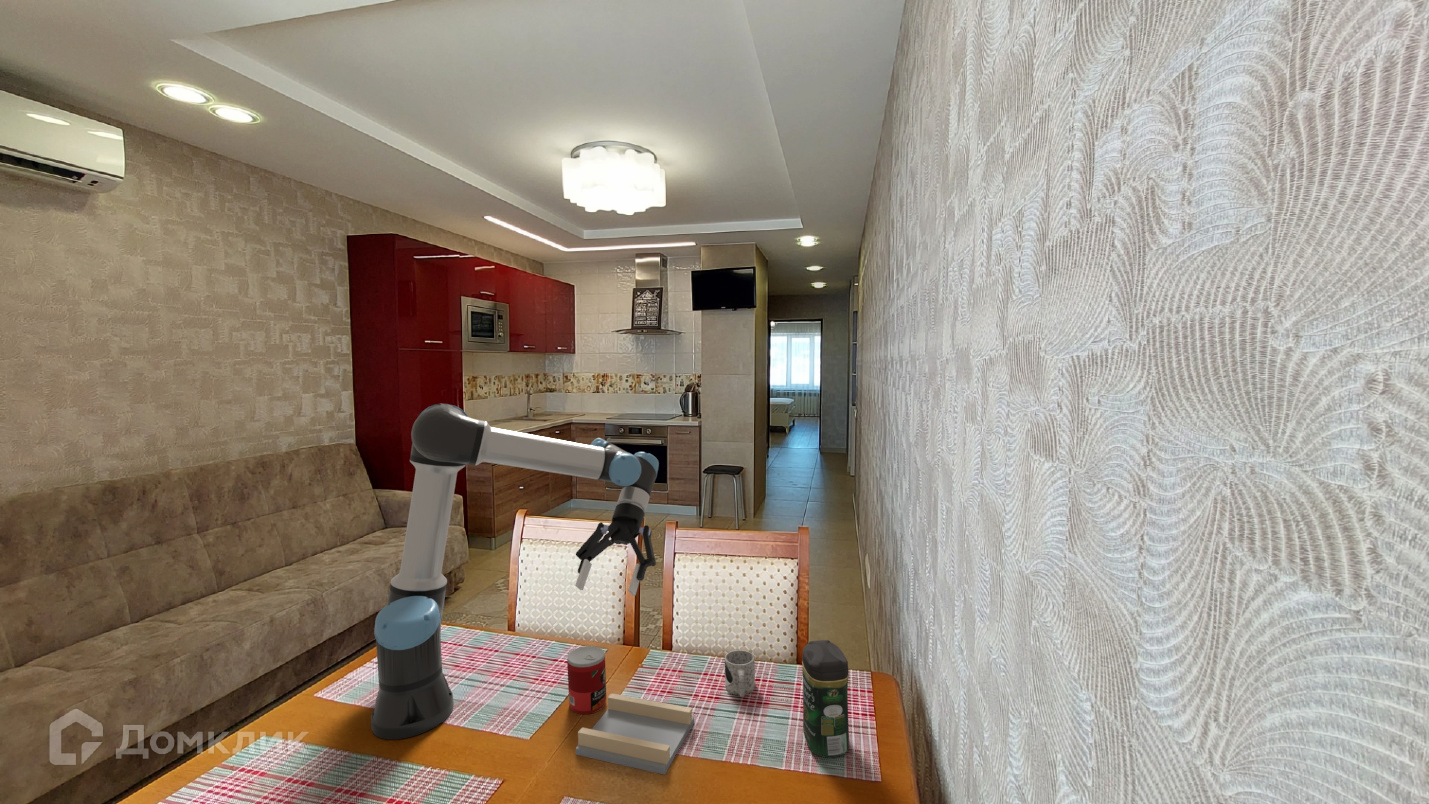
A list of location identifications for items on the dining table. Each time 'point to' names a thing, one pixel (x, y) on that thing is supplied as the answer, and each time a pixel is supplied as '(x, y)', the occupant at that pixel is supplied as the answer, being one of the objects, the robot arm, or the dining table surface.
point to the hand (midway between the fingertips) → (604, 590)
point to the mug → (739, 672)
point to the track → (637, 733)
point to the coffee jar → (825, 698)
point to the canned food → (586, 679)
